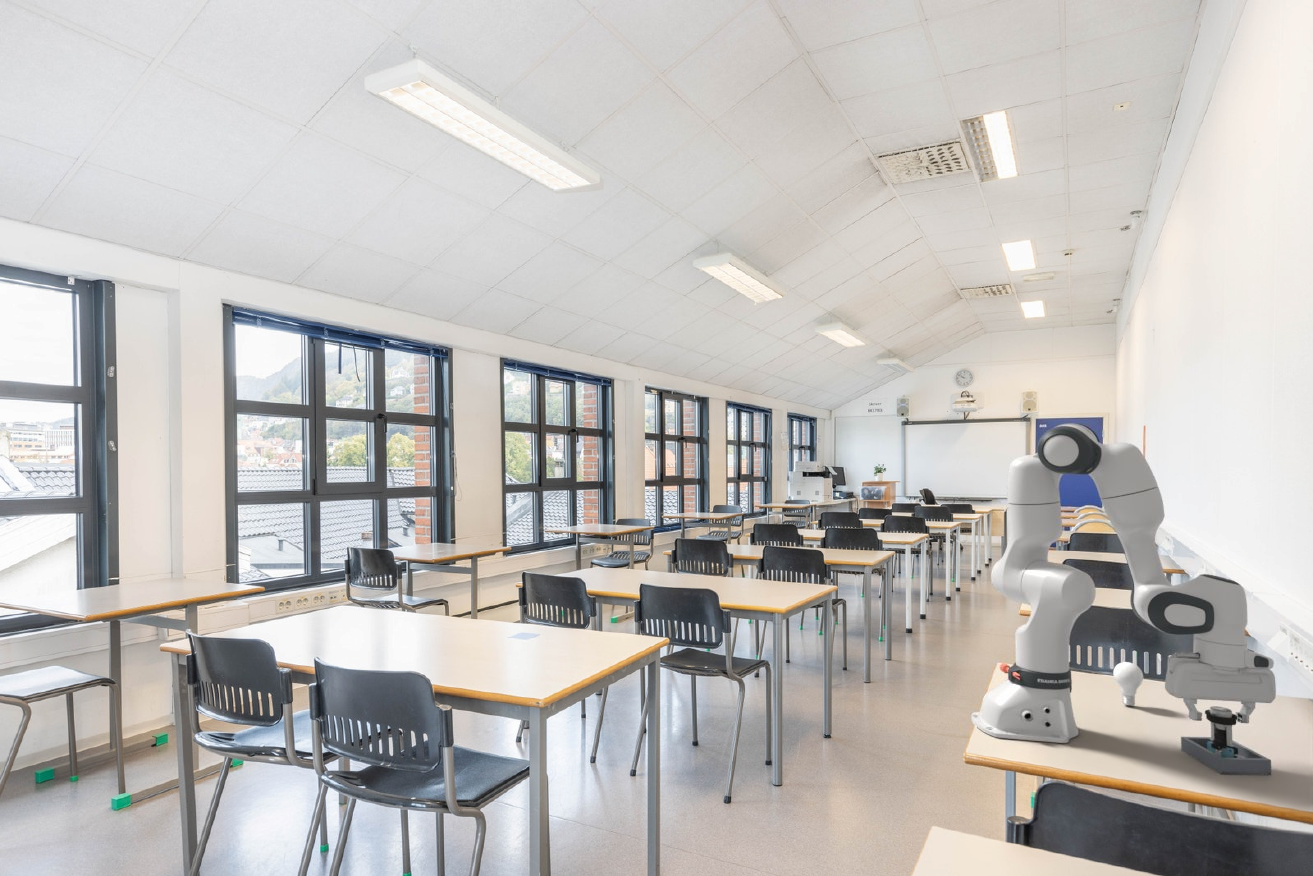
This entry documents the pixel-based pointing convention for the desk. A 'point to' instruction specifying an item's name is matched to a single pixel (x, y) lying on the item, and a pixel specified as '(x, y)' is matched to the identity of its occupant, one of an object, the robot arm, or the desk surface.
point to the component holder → (1226, 766)
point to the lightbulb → (1128, 681)
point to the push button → (1222, 732)
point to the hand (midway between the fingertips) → (1218, 721)
